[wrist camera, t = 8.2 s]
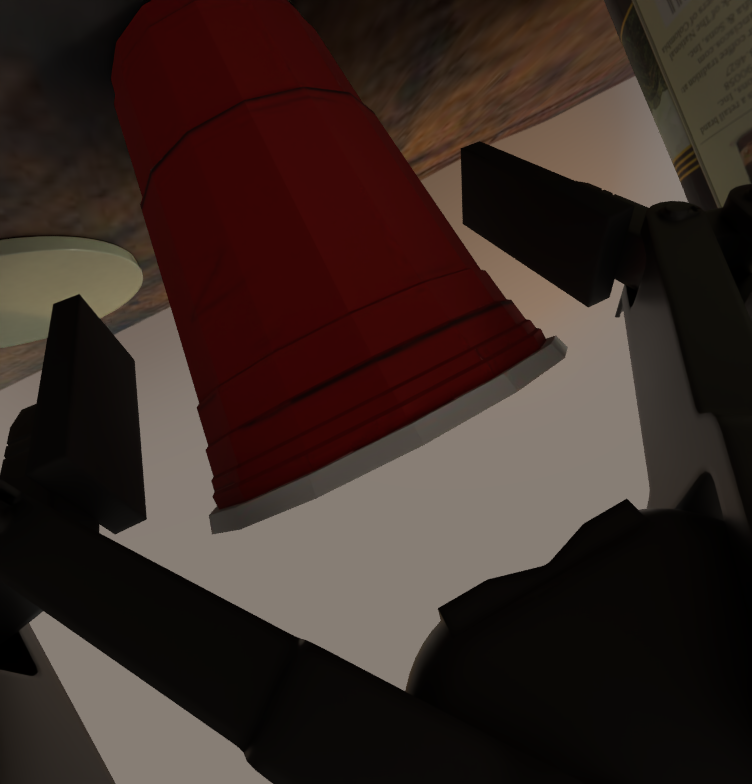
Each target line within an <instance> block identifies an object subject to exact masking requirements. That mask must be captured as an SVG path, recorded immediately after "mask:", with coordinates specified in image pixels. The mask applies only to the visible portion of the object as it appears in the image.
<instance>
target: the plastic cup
mask: <svg viewBox="0 0 752 784" xmlns="http://www.w3.org/2000/svg"><path fill="white" fill-rule="evenodd" d="M111 82H112V85H113V88H114V92H115V100H114V106H115V110H116V113H117V116H118V119H119V123H120V126H121V129H122V132H123V136H124V139H125V142H126V145H127V149H128V152H129V155H130V158H131V162H132V165H133V168H134V171H135V175H136V178H137V181H138V184H139V188H140V191H141V194H142V201H141V204H140V205H141V209H142V212H143V215H144V219H145V222H146V225H147V229H148V232H149V235H150V239H151V242H152V246H153V249H154V252H155V256H156V259H157V262H158V266H159V269H160V273H161V276H162V279H163V283H164V286H165V289H166V293H167V296H168V300H169V303H170V306H171V310H172V313H173V316H174V319H175V323H176V326H177V330H178V333H179V337H180V340H181V343H182V347H183V350H184V353H185V357H186V360H187V363H188V367H189V370H190V374H191V377H192V380H193V384H194V387H195V391H196V394H197V397H198V400H199V405H198V406H197V410H198V413H199V417H200V420H201V423H202V426H203V430H204V433H205V436H206V440H207V443H208V447H207V449H206V453H207V456H208V460H209V463H210V466H211V470H212V473H213V476H214V477H213V479H212V484H213V488H214V491H215V492H214V495H213V499H214V500H215V502H216V504H217V507H216V508H215V509H214V510H213V511H212V513H211V514H210V515H209V519H210V525H211V530H212V534H216V533H223V532H228V531H234V530H240V529H242V528H245V527H247V526H250V525H252V524H254V523H257V522H260V521H262V520H264V519H267V518H269V517H272V516H274V515H277V514H279V513H281V512H284V511H286V510H289V509H291V508H294V507H296V506H299V505H301V504H303V503H306V502H308V501H311V500H313V499H316V498H318V497H320V496H322V495H324V494H326V493H328V492H330V491H332V490H334V489H336V488H338V487H340V486H342V485H344V484H346V483H348V482H350V481H352V480H354V479H356V478H358V477H360V476H362V475H364V474H366V473H368V472H370V471H372V470H374V469H376V468H378V467H380V466H382V465H384V464H386V463H388V462H390V461H392V460H394V459H396V458H398V457H400V456H402V455H404V454H406V453H408V452H410V451H413V450H414V449H417V448H419V447H421V446H423V445H425V444H426V443H428V442H430V441H432V440H433V439H435V438H437V437H439V436H440V435H442V434H444V433H445V432H447V431H449V430H451V429H453V428H454V427H456V426H458V425H460V424H461V423H463V422H465V421H467V420H468V419H470V418H472V417H474V416H475V415H477V414H479V413H481V412H482V411H484V410H486V409H487V408H489V407H491V406H493V405H495V404H496V403H498V402H500V401H502V400H503V399H505V398H507V397H509V396H510V395H512V394H514V393H516V392H517V391H519V390H520V389H522V388H523V387H525V386H526V385H527V384H529V383H530V382H531V381H533V380H534V379H536V378H537V377H539V376H540V375H541V374H543V373H544V372H545V371H547V370H548V369H550V368H551V367H553V366H554V365H556V364H557V363H558V362H560V361H561V360H563V359H564V358H565V355H566V351H567V346H566V345H565V344H564V343H563V342H562V341H561V340H560V339H559V338H558V337H557V336H553V337H550V338H547V339H546V338H545V336H544V334H543V333H542V330H541V329H539V328H536V327H535V326H534V325H533V323H532V322H531V321H530V320H526V319H525V318H524V316H523V315H522V314H521V312H520V311H519V310H518V308H517V307H516V306H515V305H514V303H513V302H512V300H507V299H506V298H505V297H504V295H503V294H502V293H501V291H500V290H499V288H498V287H497V286H496V284H495V283H494V281H493V280H492V279H491V277H490V276H489V275H488V273H487V272H486V271H485V270H481V269H480V268H479V266H478V265H477V263H476V262H475V261H474V259H473V258H472V256H471V255H470V253H469V252H468V250H467V249H466V247H465V246H464V244H463V243H462V241H461V240H460V239H459V237H458V236H457V234H456V233H455V231H454V230H453V228H452V227H451V225H450V224H449V222H448V221H447V220H446V218H445V216H444V215H443V214H442V212H441V211H440V209H439V208H438V206H437V205H436V203H435V202H434V200H433V199H432V197H431V196H430V194H429V193H428V192H427V190H426V189H425V187H424V186H423V184H422V183H421V181H420V180H419V178H418V177H417V175H416V174H415V172H414V171H413V170H412V168H411V167H410V165H409V164H408V162H407V161H406V159H405V158H404V156H403V155H402V153H401V152H400V150H399V149H398V148H397V146H396V145H395V143H394V142H393V140H392V139H391V137H390V136H389V134H388V133H387V131H386V130H385V128H384V127H383V125H382V124H381V123H380V121H379V120H378V118H377V117H376V115H375V114H374V112H373V111H372V110H370V109H369V108H368V107H367V106H366V105H364V104H363V103H362V101H361V100H360V98H359V96H358V95H357V93H356V92H355V90H354V89H353V87H352V86H351V84H350V83H349V81H348V80H347V78H346V76H345V75H344V73H343V72H342V70H341V69H340V67H339V66H338V64H337V63H336V61H335V60H334V58H333V56H332V55H331V53H330V52H329V50H328V49H327V47H326V46H325V44H324V43H323V41H322V39H321V38H320V36H319V35H318V33H317V32H316V30H315V29H314V28H313V27H312V26H311V25H310V24H309V23H308V22H307V21H306V20H305V19H304V18H303V17H302V16H301V15H300V13H299V12H298V10H297V9H296V8H294V7H293V6H292V5H291V4H290V3H289V2H288V1H287V0H151V1H149V2H148V3H146V4H144V5H143V6H142V7H141V8H140V9H139V11H138V12H137V14H136V15H135V16H134V18H133V19H132V21H131V22H130V23H129V25H128V26H127V28H126V29H125V30H124V32H123V33H122V35H121V36H120V37H119V39H118V40H117V42H116V47H115V54H114V61H113V67H112V74H111Z"/></svg>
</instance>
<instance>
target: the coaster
mask: <svg viewBox="0 0 752 784" xmlns="http://www.w3.org/2000/svg"><path fill="white" fill-rule="evenodd" d="M142 282H143V273H142V271H141V268H140V266H139V264H138V262H137V260H136V259H135V258H134V256H133V255H132V254H131V253H129V252H128V251H126V250H125V249H123V248H121V247H119V246H117V245H114V244H111V243H108V242H104V241H99V240H94V239H88V238H80V237H65V236H37V237H23V238H12V239H5V240H0V348H4V347H9V346H15V345H20V344H24V343H29V342H33V341H37V340H41V339H45V338H48V332H49V326H50V320H51V314H52V307H53V304H54V303H57V302H59V301H62V300H65V299H67V298H70V297H73V296H75V295H78V294H80V295H81V296H82V298H83V299H84V300H85V301H86V302H87V304H88V305H89V306H90V307H91V308H92V310H93V311H94V312H95V313H96V314H97V316H98V317H99V318H102V317H104V316H106V315H107V314H109V313H111V312H113V311H114V310H116V309H118V308H119V307H121V306H122V305H124V304H125V303H126V302H128V301H129V300H130V299H131V298H132V297H133V296H134V295H135V294H136V293H137V292H138V290H139V289H140V287H141V285H142Z"/></svg>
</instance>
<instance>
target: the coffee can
mask: <svg viewBox="0 0 752 784" xmlns="http://www.w3.org/2000/svg"><path fill="white" fill-rule="evenodd" d="M604 2H605V4H606V6H607V9H608V11H609V13H610V16H611V18H612V20H613V23H614V26H615V28H616V30H617V34H618V36H619V38H620V41H621V43H622V45H623V46H624V49H625V51H626V54H627V56H628V59H629V61H630V64H631V66H632V68H633V71H634V73H635V75H636V78H637V80H638V83H639V85H640V87H641V89H642V92H643V94H644V96H645V99H646V101H647V104H648V106H649V108H650V111H651V113H652V115H653V118H654V120H655V123H656V125H657V127H658V129H659V132H660V134H661V137H662V139H663V141H664V144H665V146H666V148H667V151H668V153H669V155H670V158H671V160H672V163H673V165H674V167H675V170H676V172H677V174H678V177H679V179H680V182H681V184H682V187H683V189H684V192H685V195H686V197H687V200H688V202H689V203H691V204H694V205H697V206H699V207H701V208H702V209H703V210H704V211H707V210H712V209H717V208H722V207H723V206H724V203H725V201H726V199H727V196H728V194H729V192H730V190H732V189H733V188H735V187H737V186H741V185H745V184H752V0H604Z"/></svg>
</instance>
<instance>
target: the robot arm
mask: <svg viewBox="0 0 752 784" xmlns="http://www.w3.org/2000/svg"><path fill="white" fill-rule="evenodd" d="M461 174H462V212H463V224H464V225H465V226H467V227H468V228H470V229H471V230H473V231H474V232H476V233H477V234H479V235H480V236H482V237H483V238H485V239H487V240H488V241H489V242H491V243H492V244H494V245H495V246H497V247H498V248H500V249H501V250H503V251H504V252H506V253H507V254H509V255H511V256H512V257H513V258H515V259H516V260H518V261H519V262H521V263H522V264H524V265H525V266H527V267H528V268H530V269H531V270H533V271H535V272H536V273H537V274H539V275H540V276H542V277H543V278H545V279H546V280H548V281H549V282H551V283H553V284H554V285H556V286H557V287H558V288H560V289H561V290H563V291H565V292H566V293H567V294H569V295H570V296H572V297H573V298H575V299H576V300H578V301H579V302H581V303H582V304H584V305H585V306H587V307H590V306H592V305H594V304H597V303H599V302H601V301H603V300H605V299H607V298H609V297H610V293H611V290H612V286H613V283H614V279H616V280H618V281H620V282H621V283H623V284H625V285H624V288H623V291H622V295H621V298H620V301H619V305H618V308H617V312H616V315H615V317H620V313H621V312H622V311H624V317H625V324H626V330H627V337H628V344H629V351H630V358H631V364H632V371H633V378H634V384H635V390H636V398H637V405H638V411H639V418H640V424H641V431H642V438H643V445H644V452H645V458H646V465H647V471H648V478H649V487H650V494H649V501H648V506H647V509H642V510H638V509H637V508H636V507H635V506H634V505H633V504H632V503H631V502H630V501H629V500H628V499H626V500H624V501H622V502H620V503H618V504H617V505H615V506H613V507H612V508H610V509H608V510H606V511H605V512H603V513H601V514H600V515H598V516H596V517H594V518H593V519H591V520H589V521H588V522H586V523H584V524H583V525H582V526H581V527H580V529H578V531H577V532H576V533H575V534H574V535H573V536H572V537H571V539H570V540H569V541H568V542H567V543H566V545H564V546H563V548H562V549H561V550H560V551H559V552H558V553H557V554H556V555H555V557H554V558H553V559H552V560H551V561H550V562H549V563H548V564H546V565H544V566H541V567H537V568H533V569H529V570H525V571H521V572H517V573H513V574H508V575H505V576H500V577H496V578H492V579H488V580H486V581H484V582H483V583H481V584H479V585H477V586H476V587H474V588H472V589H470V590H469V591H467V592H465V593H464V594H462V595H460V596H458V597H457V598H455V599H453V600H452V601H450V602H448V603H446V604H445V605H443V606H441V607H440V608H438V610H439V615H440V619H441V621H440V622H439V624H438V625H437V626H436V627H435V628H434V630H432V632H431V633H430V634H429V636H428V637H427V639H426V640H425V642H424V643H423V645H422V647H421V649H420V651H419V653H418V655H417V656H416V658H415V661H414V664H413V666H412V669H411V671H410V674H409V679H408V682H407V686H406V691H403V690H401V689H399V688H398V687H396V686H394V685H392V684H390V683H388V682H386V681H384V680H382V679H380V678H379V677H377V676H375V675H373V674H371V673H369V672H367V671H365V670H363V669H361V668H360V667H358V666H356V665H354V664H352V663H350V662H348V661H346V660H344V659H342V658H340V657H339V656H337V655H335V654H333V653H331V652H329V651H327V650H325V649H323V648H321V647H319V646H317V645H315V644H313V643H311V642H309V641H307V640H304V639H300V638H297V637H295V636H293V635H291V634H289V633H287V632H285V631H283V630H282V629H280V628H278V627H276V626H274V625H272V624H270V623H268V622H266V621H265V620H263V619H261V618H259V617H257V616H255V615H253V614H251V613H249V612H248V611H245V610H244V609H242V608H240V607H238V606H236V605H234V604H232V603H230V602H228V601H227V600H225V599H223V598H221V597H219V596H217V595H215V594H213V593H211V592H210V591H208V590H206V589H204V588H202V587H200V586H198V585H196V584H194V583H192V582H191V581H189V580H187V579H185V578H183V577H181V576H179V575H177V574H175V573H174V572H172V571H170V570H168V569H166V568H164V567H162V566H160V565H158V564H157V563H155V562H153V561H151V560H149V559H147V558H145V557H143V556H141V555H140V554H138V553H136V552H134V551H132V550H130V549H128V548H126V547H124V546H122V545H121V544H119V543H117V542H115V541H113V540H111V539H109V538H107V537H105V536H104V535H102V534H100V533H99V524H100V525H102V526H103V527H105V528H106V529H108V530H109V531H111V532H112V533H114V534H117V533H119V532H121V531H123V530H125V529H127V528H129V527H132V526H134V525H136V524H138V523H140V522H142V521H144V520H146V519H147V518H146V505H145V492H144V479H143V466H142V453H141V441H140V427H139V413H138V401H137V388H136V376H135V375H136V374H135V361H134V359H133V358H132V357H131V355H130V354H129V353H128V352H127V351H126V349H125V348H124V347H123V346H122V345H121V343H120V342H119V341H118V340H117V339H116V338H115V336H114V335H113V334H112V333H111V331H110V330H109V329H108V328H107V327H106V325H105V324H104V323H103V322H102V321H101V319H100V318H99V317H98V316H97V314H96V313H95V312H94V311H93V310H92V308H91V307H90V306H89V305H88V304H87V302H86V301H85V300H84V299H83V298H82V296H81V295H80V294H78V295H75V296H73V297H70V298H67V299H65V300H62V301H59V302H57V303H54V304H53V307H52V314H51V320H50V326H49V332H48V338H47V344H46V350H45V356H44V362H43V368H42V374H41V380H40V386H39V392H38V398H37V404H35V405H32V406H30V407H27V408H25V409H23V410H21V412H20V414H19V415H18V416H17V418H16V420H15V421H14V423H13V424H12V426H11V427H10V431H9V436H8V441H7V444H8V446H6V450H5V455H4V457H5V459H4V460H3V464H2V468H1V473H0V784H115V782H114V780H113V778H112V776H111V774H110V773H109V771H108V769H107V767H106V765H105V763H104V761H103V760H102V758H101V756H100V754H99V752H98V751H97V748H96V747H95V745H94V743H93V741H92V739H91V737H90V735H89V734H88V732H87V730H86V728H85V727H84V725H83V722H82V721H81V719H80V717H79V715H78V713H77V712H76V710H75V708H74V706H73V704H72V702H71V700H70V698H69V697H68V695H67V693H66V691H65V689H64V687H63V686H62V684H61V682H60V680H59V679H58V676H57V674H56V673H55V671H54V669H53V667H52V665H51V663H50V661H49V659H48V658H47V656H46V654H45V652H44V650H43V648H42V647H41V645H40V643H39V641H38V639H37V638H36V635H35V634H34V632H33V630H32V628H31V626H30V624H29V622H30V621H32V619H34V618H35V617H36V616H38V615H39V614H40V613H41V612H42V611H45V612H46V613H47V614H49V615H50V616H52V617H53V618H55V619H56V620H57V621H59V622H60V623H62V624H63V625H64V626H66V627H67V628H69V629H70V630H72V631H73V632H74V633H76V634H77V635H79V636H80V637H82V638H83V639H85V640H86V641H87V642H89V643H90V644H92V645H93V646H95V647H96V648H97V649H99V650H100V651H102V652H103V653H105V654H106V655H107V656H109V657H110V658H112V659H113V660H115V661H116V662H118V663H119V664H120V665H122V666H123V667H125V668H126V669H127V670H129V671H130V672H132V673H134V674H135V675H136V676H138V677H139V678H140V679H142V680H143V681H145V682H146V683H148V684H149V685H150V686H152V687H153V688H155V689H156V690H158V691H159V692H160V693H162V694H163V695H165V696H166V697H168V698H169V699H171V700H172V701H173V702H175V703H176V704H178V705H179V706H180V707H182V708H183V709H185V710H186V711H188V712H189V713H191V714H192V715H193V716H195V717H196V718H198V719H199V720H201V721H202V722H203V723H205V724H206V725H208V726H209V727H211V728H212V729H213V730H215V731H216V732H218V733H219V734H221V735H222V736H224V737H225V738H226V739H228V740H230V741H231V742H232V743H234V744H235V745H236V746H237V747H239V748H240V749H241V750H242V751H243V752H244V755H245V757H246V760H247V762H248V763H249V764H250V765H251V766H252V767H253V768H254V769H255V770H256V771H257V772H259V773H260V774H261V775H262V776H264V777H265V778H266V779H268V780H269V781H270V782H272V783H273V784H752V184H745V185H741V186H737V187H735V188H733V189H732V190H730V192H729V194H728V196H727V199H726V201H725V203H724V206H723V207H722V208H717V209H712V210H707V211H704V210H703V209H702V208H701V207H699V206H697V205H694V204H691V203H687V202H680V201H678V202H677V201H668V202H661V203H658V204H655V205H652V206H651V207H650V208H648V207H645V206H643V205H640V204H638V203H636V202H633V201H631V200H628V199H626V198H623V197H621V196H618V195H616V194H615V195H613V194H612V193H611V192H609V191H606V190H602V189H601V188H599V187H596V186H594V185H591V184H589V183H585V182H578V181H574V180H571V179H569V178H566V177H564V176H561V175H559V174H557V173H555V172H552V171H550V170H547V169H545V168H542V167H540V166H538V165H535V164H533V163H530V162H528V161H526V160H523V159H521V158H518V157H516V156H514V155H511V154H509V153H506V152H504V151H502V150H499V149H497V148H494V147H492V146H490V145H487V144H485V143H482V142H480V141H479V142H477V143H474V144H471V145H469V146H466V147H464V148H461Z"/></svg>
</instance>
